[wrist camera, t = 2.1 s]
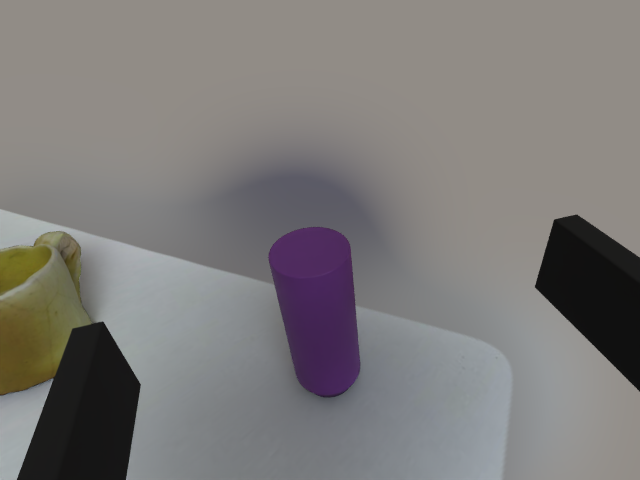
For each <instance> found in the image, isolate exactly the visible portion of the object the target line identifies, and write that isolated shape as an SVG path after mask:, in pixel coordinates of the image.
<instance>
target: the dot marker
mask: <svg viewBox="0 0 640 480" xmlns="http://www.w3.org/2000/svg"><path fill="white" fill-rule="evenodd" d="M269 263H270V267H271V272H272V276H273V280H274V284H275V289H276V293H277V297H278V301H279V305H280V310H281V314H282V318H283V322H284V327H285V331H286V335H287V339H288V343H289V348H290V352H291V356H292V360H293V364H294V369H295V373H296V376H297V379H298V381H299V382H300V384H301V385H302V386H303V387H304V388H305V389H306V390H308V391H310V392H312V393H314V394H316V395H318V396H321V397H335V396H338V395H340V394H342V393H344V392H345V391H346V390H347V389H348V388H349V387H350V386H351V385H352V384H353V383H354V382H355V380H356V379H357V377H358V375H359V372H360V356H359V344H358V332H357V320H356V308H355V296H354V285H353V272H352V261H351V249H350V244H349V242H348V240H347V239H346V238H345V237H344V235H342V234H341V233H339V232H337V231H335V230H332V229H329V228H323V227H309V228H303V229H299V230H295V231H292V232H290V233H288V234H286V235H284V236H283V237H281V238H280V239H278V240H277V241H276V242H275V243H274V244H273V246H272V247H271V249H270V252H269Z"/></svg>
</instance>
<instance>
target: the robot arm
mask: <svg viewBox="0 0 640 480" xmlns="http://www.w3.org/2000/svg"><path fill="white" fill-rule="evenodd" d="M535 288H536V289H537V290H538V291H539V292H540V293H541V294H542V295H543V296H544V297H545V298H546V299H548V300H549V302H550V303H552V305H553V306H554V307H555V308H556V309H558V311H560V313H561V314H562V315H563V316H564V317H565V318H566V319H567V320H569V321H570V322H571V323H572V324H573V325H574V326H575V327H576V328H577V329H578V330H579V331H580V332H581V333H582V334H583V335H584V336H585V337H586V338H587V339H588V340H589V341H590V342H591V343H592V344H593V345H594V346H595V347H596V348H597V349H598V350H599V351H600V352H601V353H602V354H603V355H604V356H605V357H606V358H607V359H608V360H609V361H610V362H611V363H612V364H613V365H614V366H615V367H616V368H617V369H618V370H619V371H620V372H621V373H622V374H623V375H624V376H625V377H626V378H627V379H628V380H629V381H630V382H631V383H632V384H633V385H634V386H635V387H636V388H637V389H638V390H639V391H640V257H638V256H636V255H635V254H634V253H632V252H631V251H629V250H628V249H626V248H625V247H623V246H622V245H620V244H619V243H618V242H616V241H615V240H613V239H612V238H610V237H609V236H607V235H606V234H605V233H603V232H601V231H600V230H599V229H597V228H596V227H594V226H593V225H591V224H590V223H589V222H587V221H586V220H584V219H583V218H581V217H580V216H578V215H573V216H568V217H563V218H559V219H555V220H554V222H553V226H552V229H551V233H550V236H549V240H548V243H547V247H546V250H545V253H544V257H543V261H542V264H541V267H540V271H539V274H538V278H537V281H536V285H535ZM140 386H141V384H140V383H139V381H138V379H137V377H136V376H135V374H134V372H133V371H132V369H131V367H130V366H129V364H128V362H127V361H126V359H125V357H124V356H123V354H122V352H121V351H120V349H119V347H118V346H117V344H116V342H115V341H114V339H113V337H112V336H111V334H110V332H109V330H108V329H107V327H106V325H105V324H104V322H99V323H94V324H90V325H85V326H81V327H77V328H72V331H71V334H70V336H69V339H68V342H67V345H66V347H65V350H64V353H63V355H62V358H61V361H60V364H59V366H58V369H57V372H56V375H55V377H54V380H53V383H52V385H51V388H50V391H49V394H48V396H47V399H46V402H45V405H44V407H43V410H42V413H41V415H40V418H39V421H38V424H37V426H36V429H35V432H34V435H33V437H32V440H31V443H30V445H29V448H28V451H27V454H26V456H25V459H24V462H23V465H22V467H21V470H20V473H19V475H18V478H17V480H126V476H127V469H128V463H129V457H130V450H131V444H132V437H133V431H134V425H135V418H136V412H137V406H138V399H139V393H140Z"/></svg>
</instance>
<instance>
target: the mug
mask: <svg viewBox="0 0 640 480" xmlns="http://www.w3.org/2000/svg"><path fill="white" fill-rule="evenodd" d="M80 256H81V247H80V246H79V244H78V243H77V242H76V241H75V239H73V238H72V237H71V235H69V234H67V233H65V232H62V231H56V232H48V233H45V234H43V235H41V236H40V237H39V238H38V239H37V240H36V241H35V243H34V246H13V247H9V248H4V249H0V395H5V394H7V393H11V392H19V391H23V390H26V389H28V388H29V387H32V386H34V385H37V384H40V383H42V382H45V381H47V380H49V379H52V378H53V377H55V375H56V372H57V369H58V366H59V364H60V361H61V358H62V355H63V353H64V350H65V347H66V345H67V342H68V339H69V336H70V334H71V331H72V328H77V327H81V326H85V325H90V324H92V323H91V320H90V318H89V316H88V315H87V313H86V311H85V310H84V308H83V307H82V305H81V298H80V285H79V277H80V275H81V261H80Z"/></svg>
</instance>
